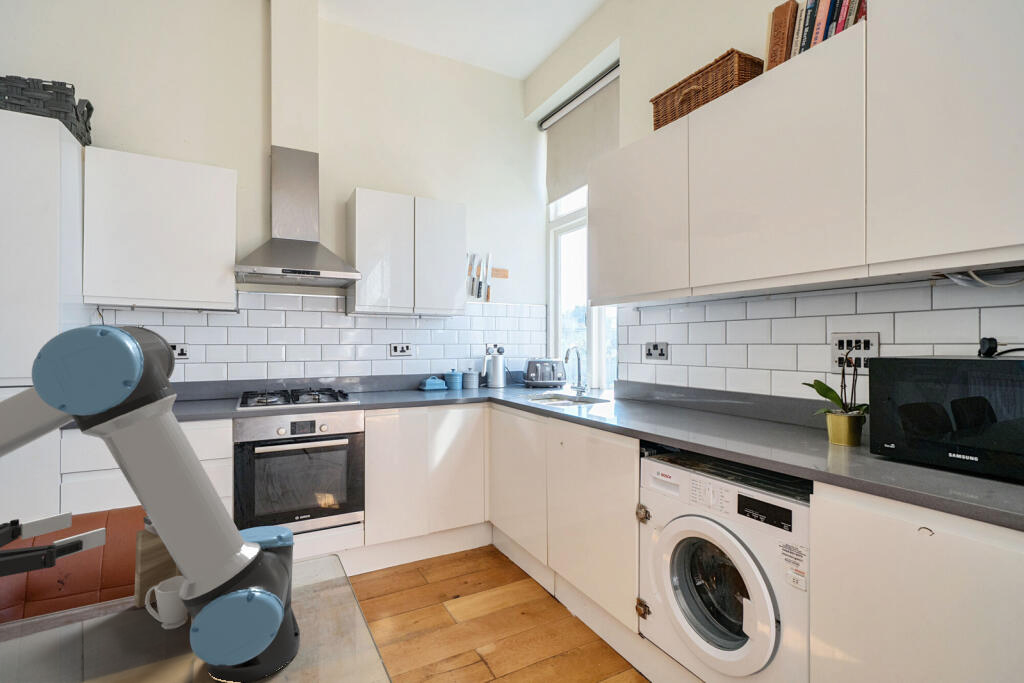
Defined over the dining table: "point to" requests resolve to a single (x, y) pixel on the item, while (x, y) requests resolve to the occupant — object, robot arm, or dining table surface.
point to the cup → (168, 603)
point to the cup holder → (151, 563)
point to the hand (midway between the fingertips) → (87, 527)
